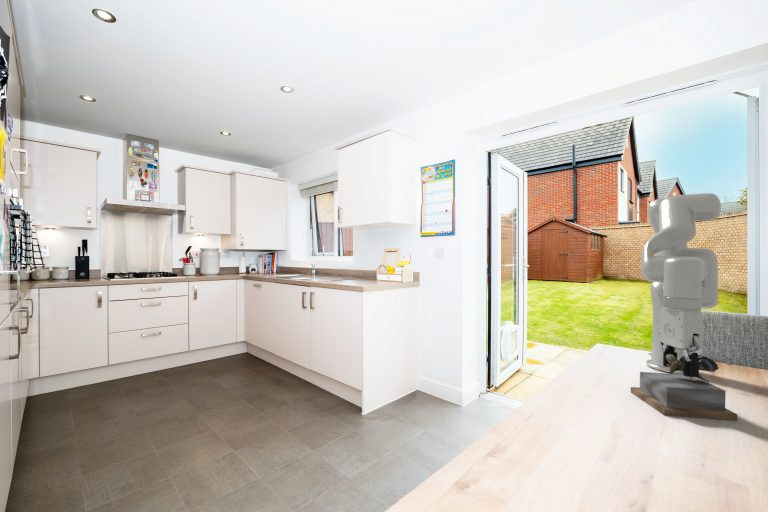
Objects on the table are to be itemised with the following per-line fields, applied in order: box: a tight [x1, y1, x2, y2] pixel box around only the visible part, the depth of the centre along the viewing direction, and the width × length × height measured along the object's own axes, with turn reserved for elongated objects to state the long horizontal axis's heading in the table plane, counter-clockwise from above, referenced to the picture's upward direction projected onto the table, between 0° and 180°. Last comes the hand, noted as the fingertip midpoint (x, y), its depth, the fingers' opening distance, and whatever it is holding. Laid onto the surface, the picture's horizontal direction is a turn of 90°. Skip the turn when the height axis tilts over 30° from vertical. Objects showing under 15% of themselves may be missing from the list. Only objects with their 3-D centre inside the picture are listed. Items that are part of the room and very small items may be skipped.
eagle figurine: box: [666, 354, 720, 383], centre depth 89 cm, size 8×7×9 cm
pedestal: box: [630, 371, 739, 421], centre depth 89 cm, size 14×16×6 cm
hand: (679, 370), depth 89 cm, fingers closed on eagle figurine, 6 cm apart
